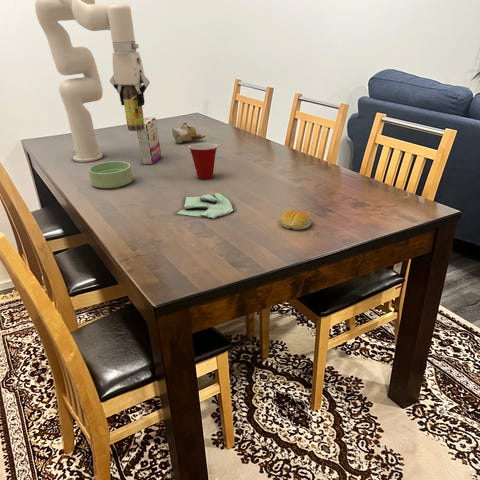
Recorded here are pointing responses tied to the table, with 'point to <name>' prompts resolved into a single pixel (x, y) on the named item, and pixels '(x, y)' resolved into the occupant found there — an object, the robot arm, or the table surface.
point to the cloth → (207, 206)
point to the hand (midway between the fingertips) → (132, 104)
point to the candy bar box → (149, 141)
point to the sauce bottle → (132, 109)
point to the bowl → (110, 174)
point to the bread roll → (296, 220)
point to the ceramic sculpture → (186, 133)
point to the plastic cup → (204, 159)
